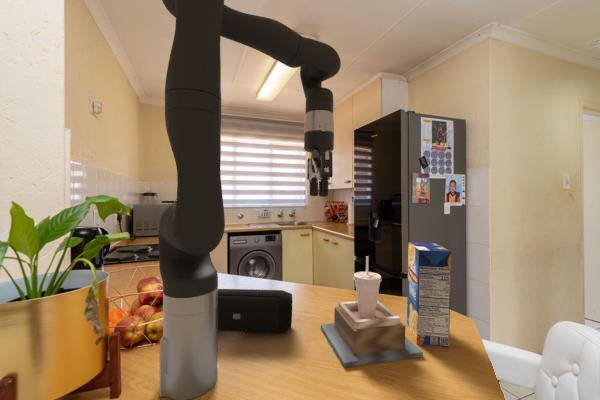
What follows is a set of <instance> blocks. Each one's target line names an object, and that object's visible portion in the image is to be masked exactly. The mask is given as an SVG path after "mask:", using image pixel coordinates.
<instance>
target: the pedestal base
mask: <svg viewBox="0 0 600 400" xmlns="http://www.w3.org/2000/svg"><path fill="white" fill-rule="evenodd" d="M320 330H321V331H322V333H323V335H324V337H325V338H326V340H327V341H328V343H329V345H330V347H331V348H332V350H333V351H334V353H335V355H336V356H337V358H338V360H339V362H340V363H341V365H342V368H352V367H359V366H367V365H373V364H381V363H386V362H392V361H393V362H394V361H401V360H408V359H409V360H410V359H416V358H417V359H418V358H423V357H424V352H423V351H422V350H421V349H420V348H419V347H418V346H417V344H415V343H413V342H412V341H411V340H410V339H408V337H407V336H406V325H405V324H404V323H403V322H401V317H400V316H398V315H397V314H396V313H395V312H394V311H392V310H391V309H390V308H388V307H387V306H386V305H384V304H383V303H382V302H381V301H380V300H378V299H377V306H376V313H375V318H371V319H363V318H361V317H360V316H359V312H358V303H357V300H356V301H355V300H353V301H342V302H341V301H340V302H338V306H337V307H336V306H335V307H334V321H333V323H332V322H331V323H323V324H320Z"/></svg>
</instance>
